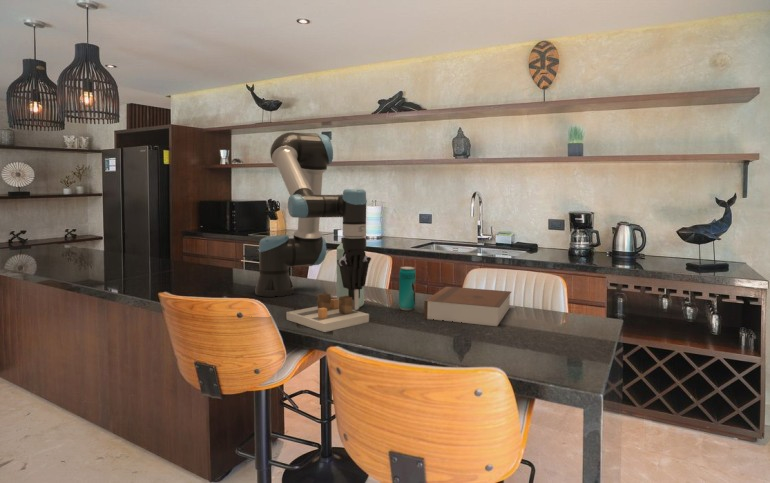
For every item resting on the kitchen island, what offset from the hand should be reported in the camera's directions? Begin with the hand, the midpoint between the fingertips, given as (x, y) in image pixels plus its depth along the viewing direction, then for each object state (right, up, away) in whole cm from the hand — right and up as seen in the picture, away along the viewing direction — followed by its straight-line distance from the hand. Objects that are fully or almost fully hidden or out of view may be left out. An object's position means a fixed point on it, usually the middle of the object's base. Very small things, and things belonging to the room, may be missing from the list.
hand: (354, 308), depth 168 cm
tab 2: (-3, -1, -2) cm, 4 cm away
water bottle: (-3, -2, +19) cm, 19 cm away
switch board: (-8, -4, -2) cm, 9 cm away
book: (+40, -4, +10) cm, 41 cm away
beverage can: (+18, -2, +15) cm, 23 cm away
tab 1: (-10, 0, +1) cm, 10 cm away
